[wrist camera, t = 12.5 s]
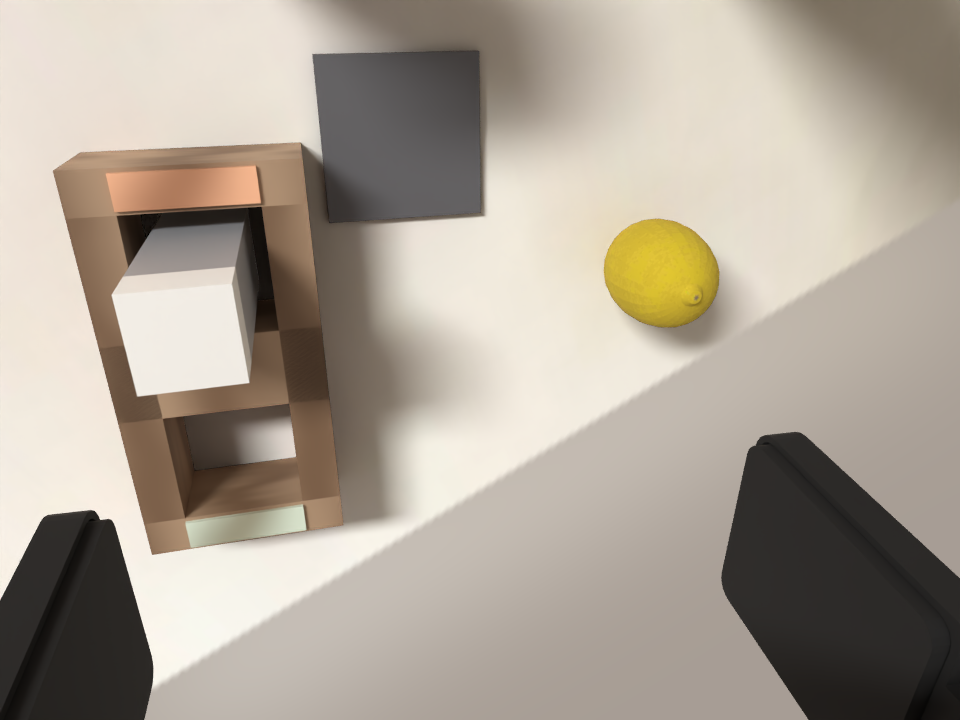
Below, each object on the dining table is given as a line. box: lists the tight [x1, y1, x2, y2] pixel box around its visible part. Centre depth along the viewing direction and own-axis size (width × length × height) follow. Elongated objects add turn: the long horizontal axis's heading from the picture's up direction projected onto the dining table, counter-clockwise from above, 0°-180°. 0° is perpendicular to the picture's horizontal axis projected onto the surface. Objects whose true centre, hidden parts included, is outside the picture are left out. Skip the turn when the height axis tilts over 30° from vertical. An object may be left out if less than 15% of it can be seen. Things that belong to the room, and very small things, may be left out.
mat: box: [313, 51, 481, 223], centre depth 37 cm, size 8×8×1 cm
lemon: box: [604, 219, 719, 327], centre depth 39 cm, size 6×6×8 cm
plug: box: [112, 208, 259, 397], centre depth 32 cm, size 4×4×12 cm
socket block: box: [53, 143, 343, 555], centre depth 37 cm, size 10×20×5 cm, turn 1°
